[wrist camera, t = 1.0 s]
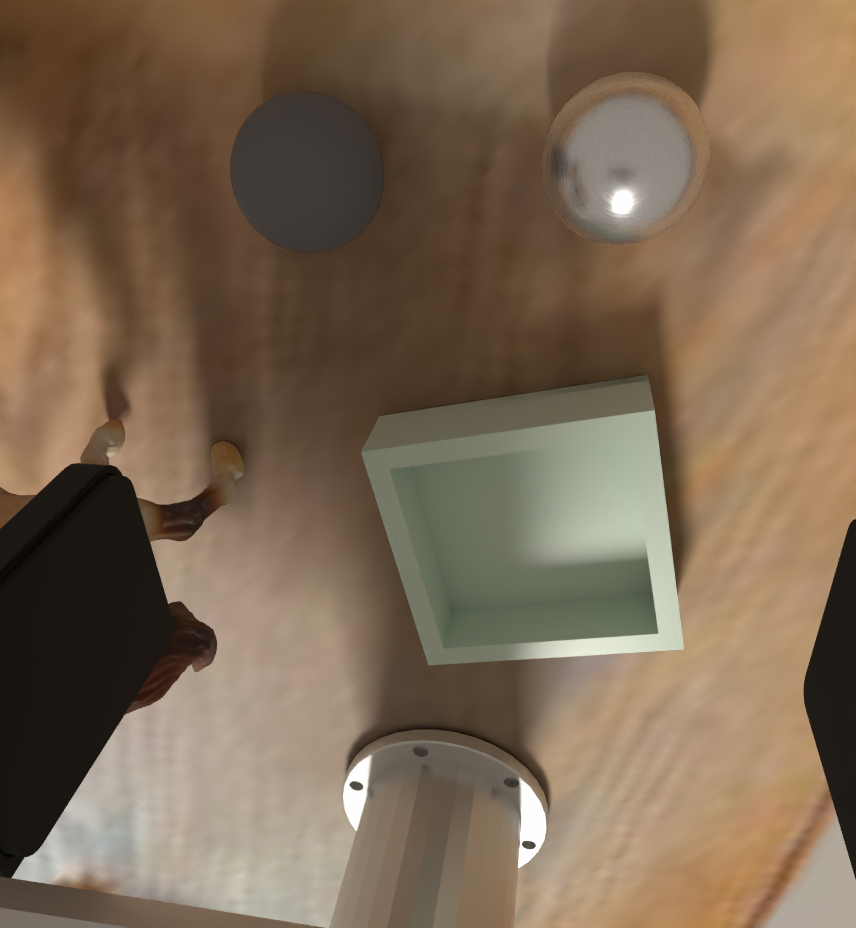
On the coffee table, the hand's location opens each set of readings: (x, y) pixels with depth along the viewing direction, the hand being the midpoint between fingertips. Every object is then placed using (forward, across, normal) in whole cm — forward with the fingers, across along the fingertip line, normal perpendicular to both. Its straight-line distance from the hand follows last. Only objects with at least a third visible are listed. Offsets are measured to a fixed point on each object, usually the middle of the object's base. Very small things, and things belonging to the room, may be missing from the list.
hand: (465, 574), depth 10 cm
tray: (+22, 0, +15) cm, 27 cm away
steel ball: (+23, -3, -1) cm, 23 cm away
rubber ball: (+23, +8, -1) cm, 25 cm away
